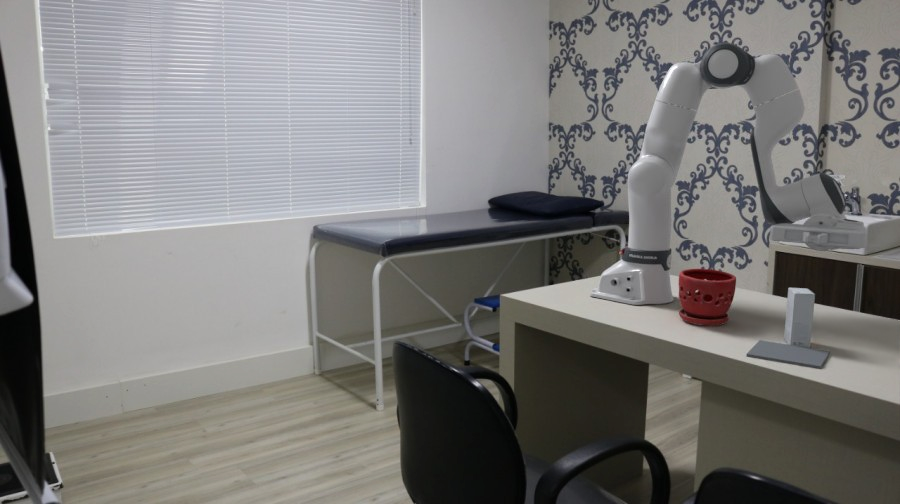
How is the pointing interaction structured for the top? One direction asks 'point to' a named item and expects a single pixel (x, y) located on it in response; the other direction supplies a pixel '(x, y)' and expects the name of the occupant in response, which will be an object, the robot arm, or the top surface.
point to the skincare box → (799, 317)
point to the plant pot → (706, 296)
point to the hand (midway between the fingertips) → (812, 239)
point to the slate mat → (789, 354)
